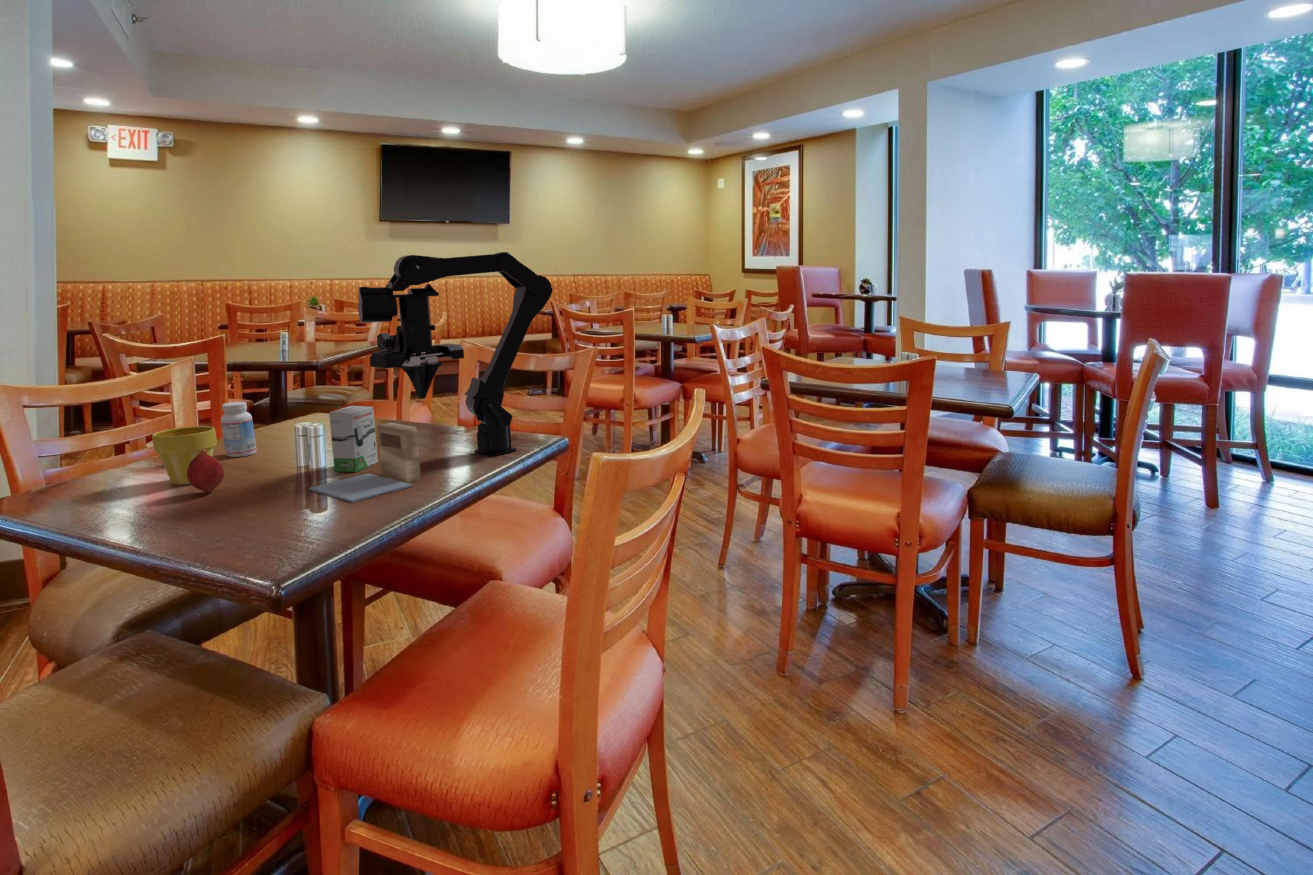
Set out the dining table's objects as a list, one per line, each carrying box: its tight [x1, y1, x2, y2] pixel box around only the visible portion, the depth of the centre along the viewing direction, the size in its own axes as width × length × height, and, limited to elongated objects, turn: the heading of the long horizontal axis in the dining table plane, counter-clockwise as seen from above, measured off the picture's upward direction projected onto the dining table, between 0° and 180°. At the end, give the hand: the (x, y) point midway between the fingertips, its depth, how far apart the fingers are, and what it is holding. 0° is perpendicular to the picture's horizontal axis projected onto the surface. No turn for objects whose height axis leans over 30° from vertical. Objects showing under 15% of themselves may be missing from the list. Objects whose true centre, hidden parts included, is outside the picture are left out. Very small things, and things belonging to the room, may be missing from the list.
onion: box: [187, 449, 225, 494], centre depth 144 cm, size 6×6×8 cm
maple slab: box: [376, 422, 422, 483], centre depth 151 cm, size 3×8×10 cm, turn 52°
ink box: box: [328, 405, 379, 473], centre depth 160 cm, size 9×5×12 cm, turn 168°
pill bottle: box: [220, 401, 258, 458], centre depth 173 cm, size 6×6×11 cm
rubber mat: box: [309, 472, 413, 503], centre depth 146 cm, size 12×14×1 cm
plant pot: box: [151, 425, 218, 486], centre depth 153 cm, size 10×10×10 cm
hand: (422, 398), depth 162 cm, fingers closed
